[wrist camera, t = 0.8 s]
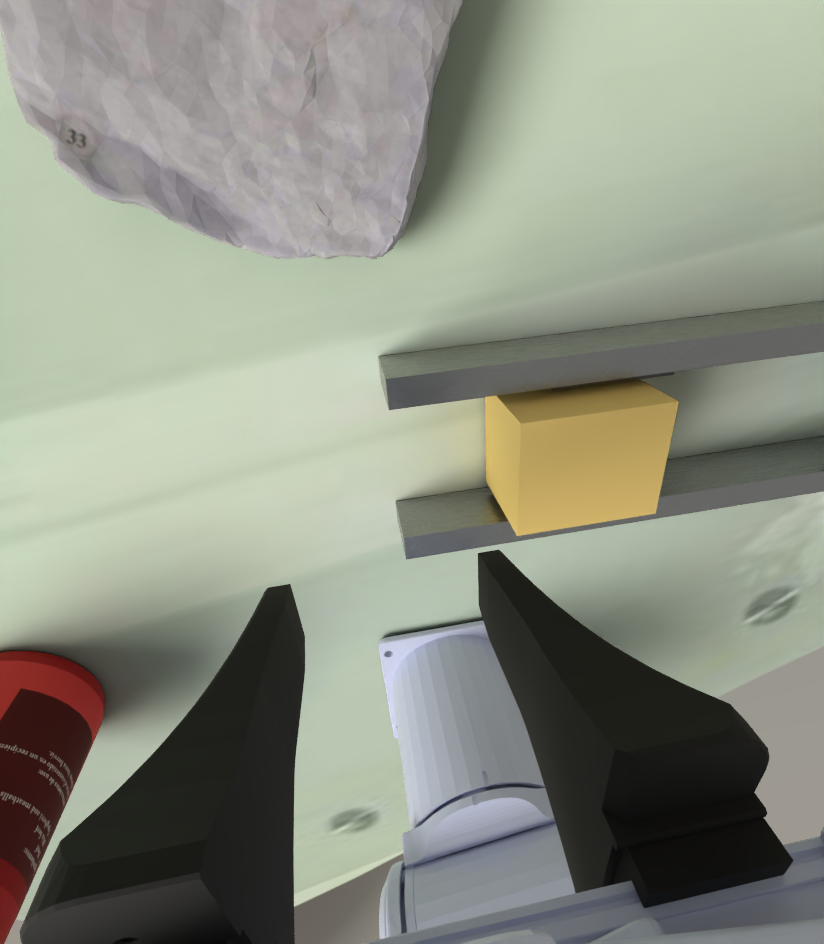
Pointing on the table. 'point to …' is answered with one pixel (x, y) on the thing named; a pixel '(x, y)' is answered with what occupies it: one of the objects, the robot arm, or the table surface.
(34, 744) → the canned food
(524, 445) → the block
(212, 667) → the table surface
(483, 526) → the chute
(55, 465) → the table surface
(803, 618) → the table surface
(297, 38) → the stone block
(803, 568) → the table surface
